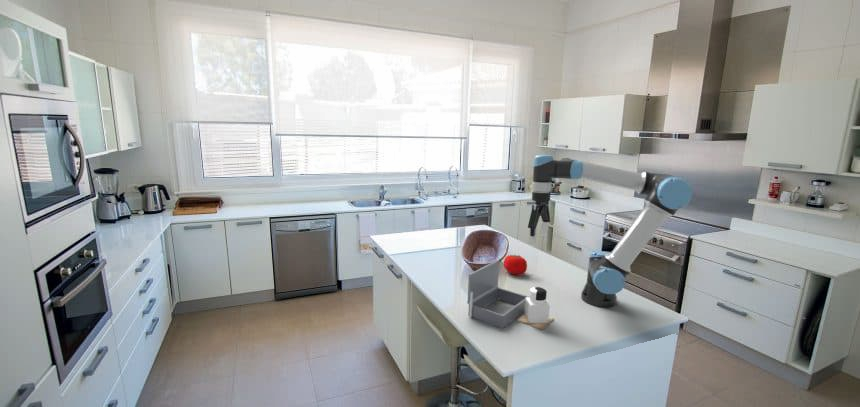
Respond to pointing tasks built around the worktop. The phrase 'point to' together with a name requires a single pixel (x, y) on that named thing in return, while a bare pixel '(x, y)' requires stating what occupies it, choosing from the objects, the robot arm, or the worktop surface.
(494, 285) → the case
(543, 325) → the mat
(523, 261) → the tomato
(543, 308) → the container
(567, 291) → the worktop surface
